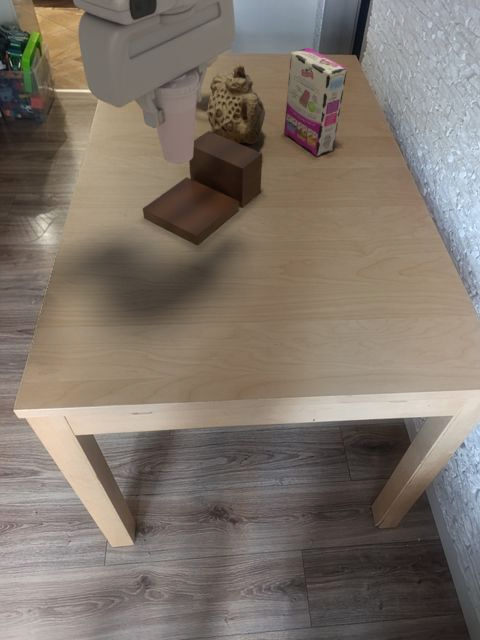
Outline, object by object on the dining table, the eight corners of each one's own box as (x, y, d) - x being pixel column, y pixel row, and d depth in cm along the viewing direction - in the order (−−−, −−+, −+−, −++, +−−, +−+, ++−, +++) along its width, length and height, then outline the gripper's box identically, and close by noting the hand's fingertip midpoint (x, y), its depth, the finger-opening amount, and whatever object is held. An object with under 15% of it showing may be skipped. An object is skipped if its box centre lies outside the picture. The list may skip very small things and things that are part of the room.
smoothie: (214, 152, 64) (209, 31, 53) (182, 176, 61) (170, 51, 50) (174, 136, 66) (162, 15, 55) (142, 158, 63) (122, 34, 52)
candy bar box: (334, 150, 105) (349, 67, 92) (316, 157, 103) (329, 74, 90) (300, 127, 110) (309, 45, 97) (282, 133, 108) (289, 51, 95)
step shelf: (143, 217, 88) (137, 178, 82) (210, 169, 98) (208, 130, 92) (197, 245, 85) (194, 205, 78) (260, 192, 95) (262, 153, 88)
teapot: (195, 120, 110) (190, 45, 98) (244, 112, 113) (245, 38, 101) (230, 173, 98) (229, 95, 86) (283, 162, 101) (290, 86, 89)
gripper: (202, -59, 55) (207, 74, 66) (55, -9, 44) (91, 139, 55) (249, -46, 53) (247, 89, 64) (106, 9, 42) (133, 159, 53)
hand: (173, 113), depth 59 cm, fingers closed on smoothie, 5 cm apart
